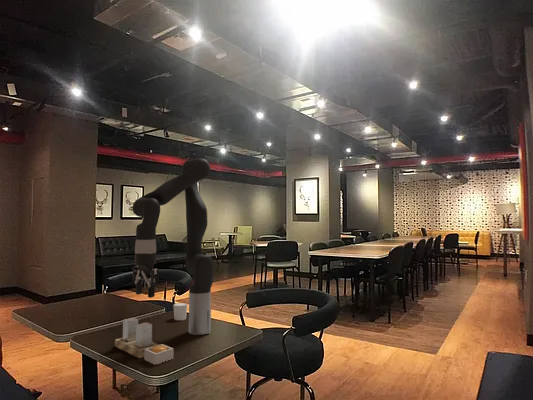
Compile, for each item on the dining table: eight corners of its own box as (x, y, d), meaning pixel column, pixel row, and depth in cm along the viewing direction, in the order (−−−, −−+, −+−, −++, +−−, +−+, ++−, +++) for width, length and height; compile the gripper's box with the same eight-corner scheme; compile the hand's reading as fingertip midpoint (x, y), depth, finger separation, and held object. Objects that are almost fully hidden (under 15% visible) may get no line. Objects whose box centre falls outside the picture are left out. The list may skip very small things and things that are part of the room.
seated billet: (122, 346, 134) (123, 319, 135) (132, 343, 138) (132, 317, 138) (127, 348, 132) (128, 321, 133) (137, 345, 135) (138, 319, 136)
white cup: (188, 316, 176) (188, 302, 177) (185, 320, 170) (186, 305, 170) (174, 317, 176) (175, 302, 177) (171, 320, 169) (171, 306, 170)
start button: (148, 355, 121) (148, 348, 122) (161, 351, 125) (161, 344, 125) (156, 358, 118) (156, 351, 118) (169, 354, 122) (169, 347, 122)
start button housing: (144, 359, 121) (144, 349, 121) (162, 353, 127) (162, 344, 127) (155, 365, 117) (155, 354, 117) (173, 358, 122) (173, 348, 122)
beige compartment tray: (114, 346, 134) (115, 339, 134) (134, 341, 140) (134, 334, 140) (139, 358, 123) (139, 350, 123) (159, 351, 129) (159, 344, 129)
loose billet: (135, 352, 128) (136, 324, 128) (145, 349, 131) (146, 322, 132) (141, 355, 125) (142, 326, 126) (151, 352, 128) (152, 324, 129)
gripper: (126, 251, 133) (125, 294, 132) (146, 253, 123) (145, 300, 122) (144, 250, 138) (144, 291, 137) (165, 252, 129) (164, 296, 128)
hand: (144, 295), depth 130 cm, fingers open, 8 cm apart
